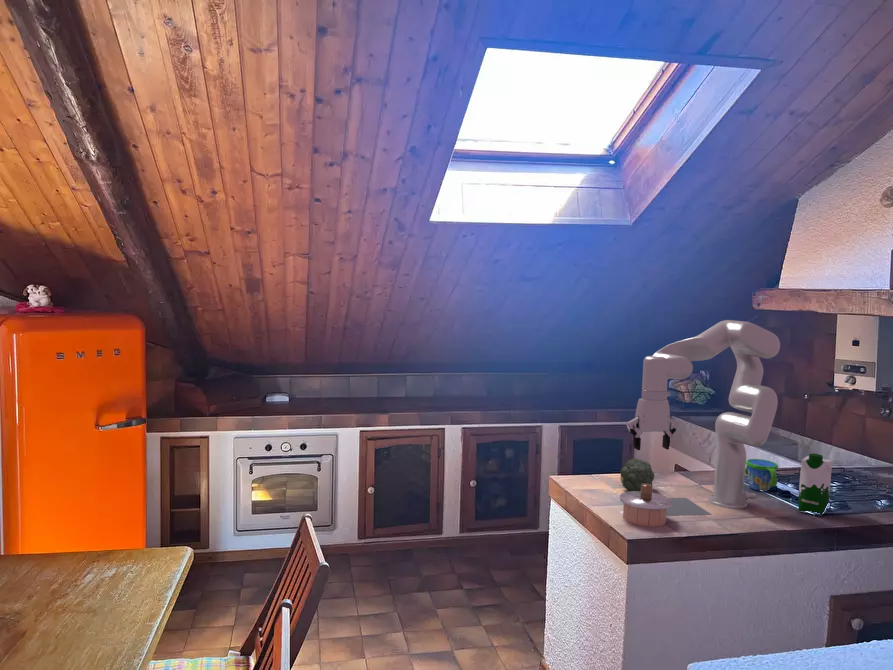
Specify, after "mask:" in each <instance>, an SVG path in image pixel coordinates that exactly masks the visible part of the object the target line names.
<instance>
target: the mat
mask: <svg viewBox="0 0 893 670" xmlns="http://www.w3.org/2000/svg"><path fill="white" fill-rule="evenodd" d="M668 498H669V499H671V500H672V507H670V508H668V509H667V517H668V516H669V517H671V516H712V514H711V513H710V512H708V510H706V509H704V508H702V507H701V506H699V505H698V504H697V503H695V502H694V501H692V500H690V499H689V498H687V497H668Z"/></svg>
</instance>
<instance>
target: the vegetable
mask: <svg viewBox="0 0 893 670" xmlns="http://www.w3.org/2000/svg"><path fill="white" fill-rule="evenodd" d="M619 472H620V477H619V479H620V482H621V484H622V487H623V488H624V489H625V490H627V492H629V491H641V484H643V483H647V484H651V485H653V481H654V479H655V472H654V471H653V469H652V464H650V463H649V462H647V461H645V460H642V459H638V458H635V457H634V458H631V459H627V461H626V464H625V465H624V466H623V467H622V468H621V469H620V471H619Z"/></svg>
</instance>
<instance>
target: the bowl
mask: <svg viewBox="0 0 893 670" xmlns="http://www.w3.org/2000/svg"><path fill="white" fill-rule="evenodd" d="M622 510H623V511H622V512H623V513H622V518H623V519H624V520H625V521H627V522H628V523H631V524H633V525H638V526H643V527H661V526H664V525H666V523H667V518H668V516H667V509H664V510H647V509H640V508H636V507H632V506H629V505H627V504H624V503H623V509H622Z"/></svg>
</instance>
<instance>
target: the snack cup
mask: <svg viewBox="0 0 893 670" xmlns="http://www.w3.org/2000/svg"><path fill="white" fill-rule="evenodd" d="M778 469H779V465H778V464H777V463H776V462H774V461H771V460H766V459H761V458H749V459H746V467H745V475H747V479H748V488H749V489H752V490H754V491H756V490H767V489H770V488H771V489H772V487H776V486H777V485H778V478H777V477H778V476H777V472H776V471H777V470H778Z"/></svg>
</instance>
